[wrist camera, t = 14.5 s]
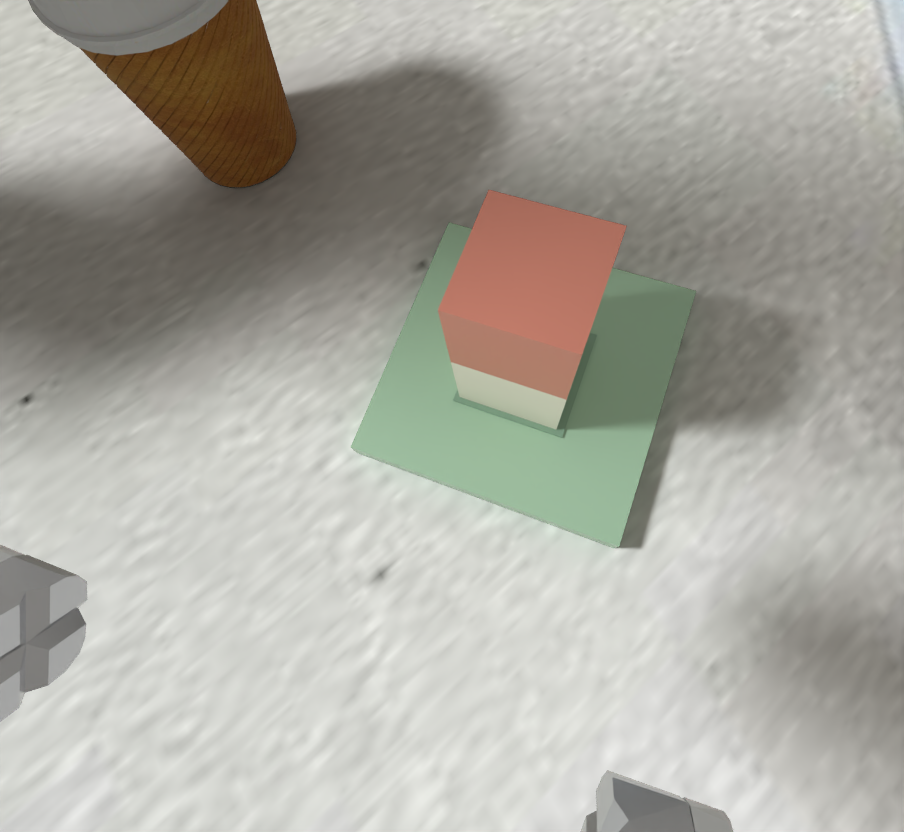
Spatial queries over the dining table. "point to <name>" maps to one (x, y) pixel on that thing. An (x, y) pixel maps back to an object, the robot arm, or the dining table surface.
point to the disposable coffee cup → (190, 76)
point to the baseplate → (525, 442)
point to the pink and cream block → (525, 304)
